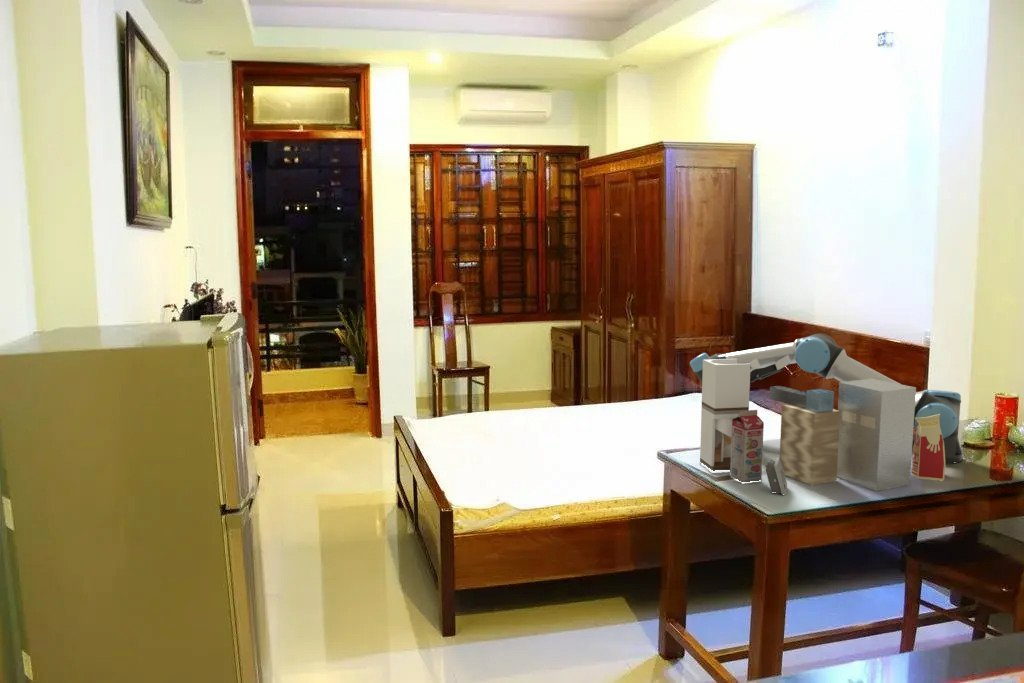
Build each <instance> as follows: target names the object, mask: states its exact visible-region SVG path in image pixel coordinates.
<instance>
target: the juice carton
mask: <svg viewBox="0 0 1024 683" xmlns="http://www.w3.org/2000/svg"><path fill="white" fill-rule="evenodd" d="M764 424H765V423H764V421H763V420H762V419H761V418H760V417H759V415H758V409H749V410H748V411H739V416H738V417H736V418H734V419H733V420H732V441H731V470H730V473H729V474H730V475H731V476H732V477H734V478H736V479H738V480H739V481H741V482H750V481H759V480H761V481H762V479H763V478H762V475H763V455H764V454H763V453H764V452H763V450H764V449H763V448H764Z"/></svg>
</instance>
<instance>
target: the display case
mask: <svg viewBox="0 0 1024 683" xmlns="http://www.w3.org/2000/svg"><path fill="white" fill-rule="evenodd" d="M701 384H702V385H701V411H700V412H701V413H700V414H701V416H700V418H701V419H700V445H699V447H700V449H699V450H700V451H699V453H700V454H699V457H700V458H699V463H700V462H701V463H703V464H704V465H706V466H707V467H708V468H710V469H711V470H713V471H715V470H731V441H732V420H733V419H734V418H736V417H738V416H739V411H748V410H750V388H751V385H750V364H737V359H708V360H703V375H702V383H701Z"/></svg>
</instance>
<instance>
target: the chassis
mask: <svg viewBox="0 0 1024 683" xmlns="http://www.w3.org/2000/svg"><path fill="white" fill-rule="evenodd" d="M916 392H917V387H915V386H911V385H910V386H909V385H906V384H902V385H901V383H900V384H896V383H891V382H886V381H881V380H876V379H864V380H855V381H846V382H841V381H838V398H837V399H838V400H837V410H838V411H840V425H839V444H838V462H837V478H838V479H841V480H844V481H847V482H849V483H853V484H855V485H858V486H861V487H864V488H866V489H869V490H871V491H875V492H879V491H884V490H890V489H895V488H899V487H905V486H910V484H911V472H912V457H913V456H912V448H913V443H914V442H913V441H914V428H915V427H914V412H915V397H916Z"/></svg>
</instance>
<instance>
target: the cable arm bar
mask: <svg viewBox="0 0 1024 683" xmlns="http://www.w3.org/2000/svg"><path fill="white" fill-rule="evenodd" d="M834 398H835V391H833V390H828V389H824V388H816V389H810V390H809V389H807V390H806V391H803V390H798V389H794V388H791V387H787V386H782V385H775V386H769V400H772V401H776V402H780V403H783V404H790V405H794V406H798V407H801V408H805V409H806V410H809V411H813V412H816V413H822V412H830V411H833V409H834V403H835V402H834V400H835V399H834Z"/></svg>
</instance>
